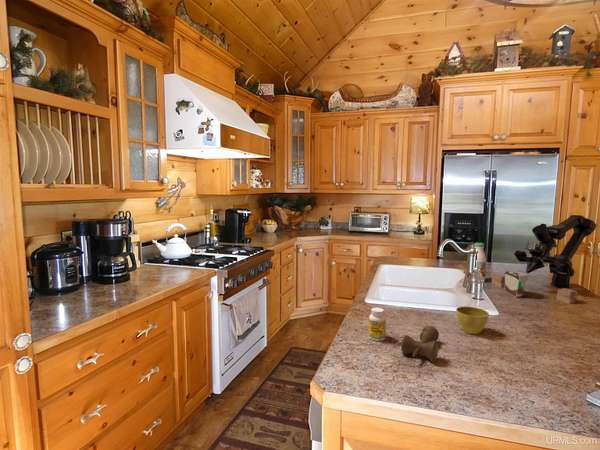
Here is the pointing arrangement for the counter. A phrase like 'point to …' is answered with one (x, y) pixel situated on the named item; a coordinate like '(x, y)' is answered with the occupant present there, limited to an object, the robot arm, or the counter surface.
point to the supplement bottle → (377, 324)
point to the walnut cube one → (498, 280)
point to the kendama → (422, 344)
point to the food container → (515, 283)
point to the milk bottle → (481, 258)
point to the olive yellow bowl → (472, 319)
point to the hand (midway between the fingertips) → (527, 272)
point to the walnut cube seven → (566, 295)
